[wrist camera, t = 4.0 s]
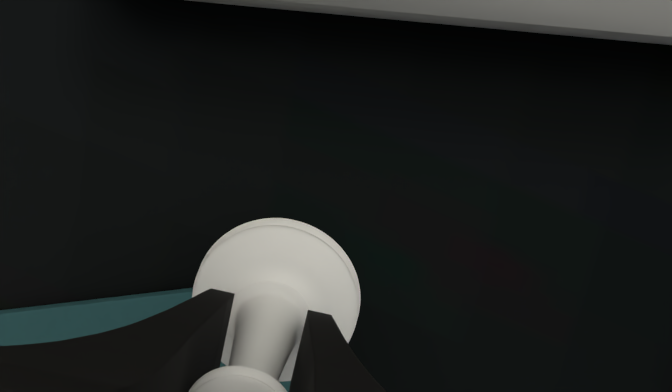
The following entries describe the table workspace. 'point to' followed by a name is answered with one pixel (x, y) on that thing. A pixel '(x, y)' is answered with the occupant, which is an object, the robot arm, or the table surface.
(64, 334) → the towel
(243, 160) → the table surface
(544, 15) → the tube
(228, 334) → the chess piece
